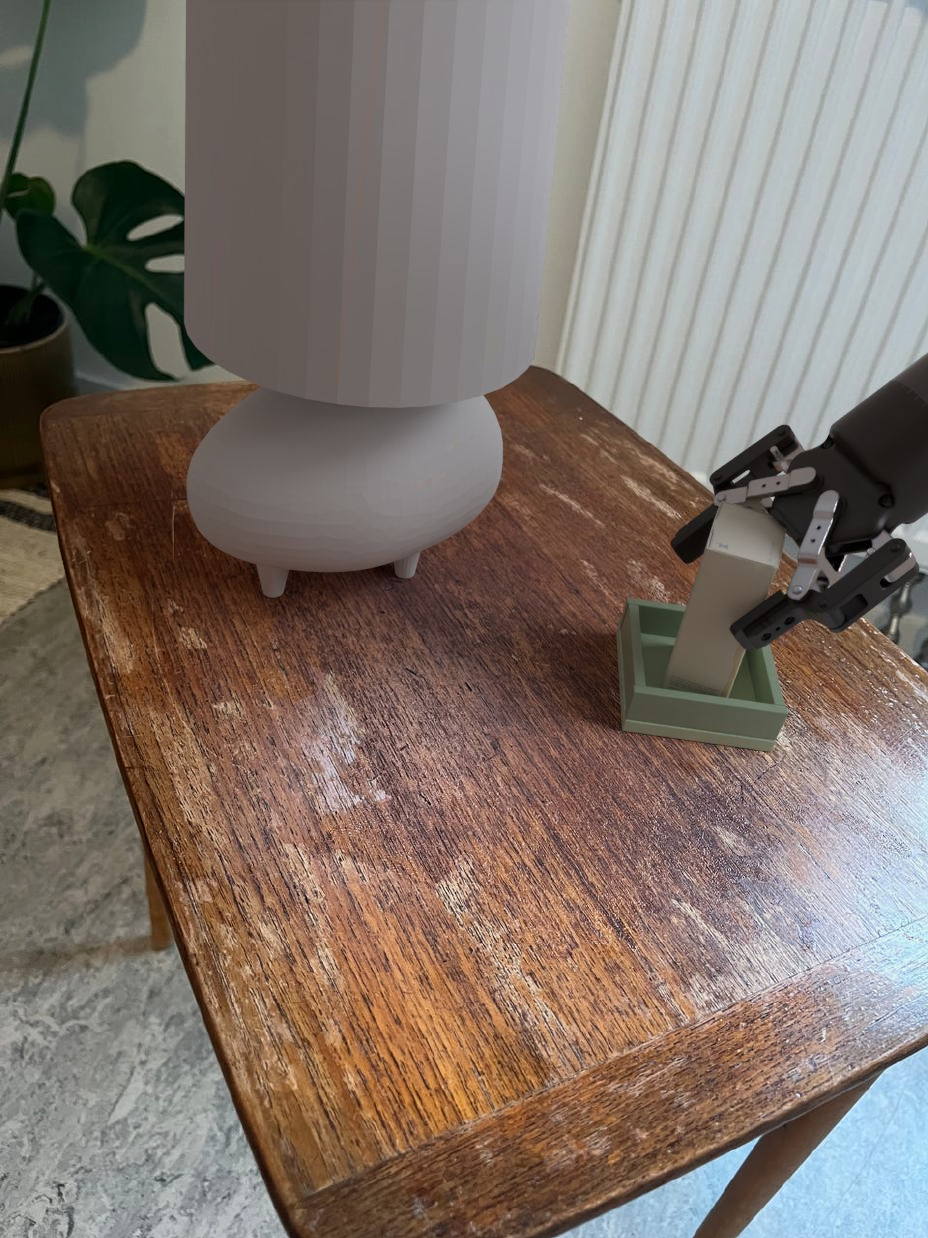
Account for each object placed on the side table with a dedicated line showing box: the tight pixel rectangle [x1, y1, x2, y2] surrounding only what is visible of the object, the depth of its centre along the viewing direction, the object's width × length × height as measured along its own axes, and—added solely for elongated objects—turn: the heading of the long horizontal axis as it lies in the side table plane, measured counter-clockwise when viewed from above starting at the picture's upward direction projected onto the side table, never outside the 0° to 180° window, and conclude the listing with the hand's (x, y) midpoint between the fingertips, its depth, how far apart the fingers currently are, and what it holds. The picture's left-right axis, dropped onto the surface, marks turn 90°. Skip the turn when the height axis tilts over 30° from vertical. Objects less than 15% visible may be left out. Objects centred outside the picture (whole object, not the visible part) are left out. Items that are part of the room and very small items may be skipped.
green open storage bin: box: [615, 597, 789, 753], centre depth 65 cm, size 10×10×4 cm
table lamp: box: [183, 0, 571, 598], centre depth 59 cm, size 23×22×40 cm
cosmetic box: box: [661, 501, 787, 698], centre depth 61 cm, size 6×4×12 cm
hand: (705, 595), depth 60 cm, fingers open, 8 cm apart
